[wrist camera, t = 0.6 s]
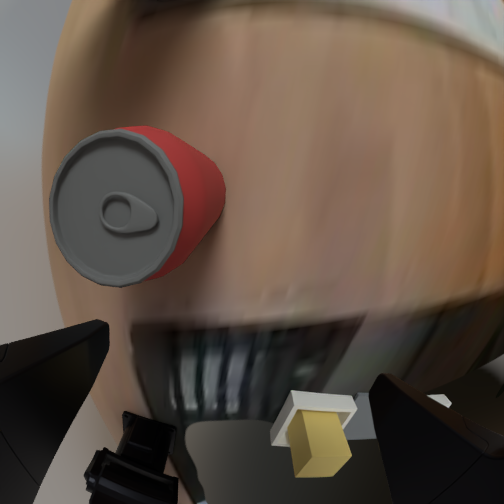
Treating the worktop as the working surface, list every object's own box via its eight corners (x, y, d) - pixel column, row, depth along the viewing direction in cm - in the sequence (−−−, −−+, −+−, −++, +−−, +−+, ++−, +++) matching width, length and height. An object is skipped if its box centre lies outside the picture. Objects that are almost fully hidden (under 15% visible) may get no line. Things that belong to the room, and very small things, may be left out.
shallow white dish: (325, 434, 27) (328, 447, 25) (269, 431, 26) (271, 445, 24) (351, 395, 25) (357, 409, 23) (291, 390, 25) (294, 405, 22)
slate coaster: (378, 435, 28) (379, 437, 27) (327, 437, 27) (328, 440, 26) (409, 393, 26) (411, 395, 25) (357, 392, 25) (358, 395, 25)
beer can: (216, 244, 21) (181, 321, 9) (136, 227, 20) (37, 276, 9) (235, 158, 19) (220, 125, 8) (151, 144, 19) (54, 112, 7)
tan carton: (319, 429, 26) (332, 476, 19) (287, 427, 26) (294, 477, 19) (334, 406, 25) (352, 455, 18) (300, 404, 25) (312, 456, 18)
